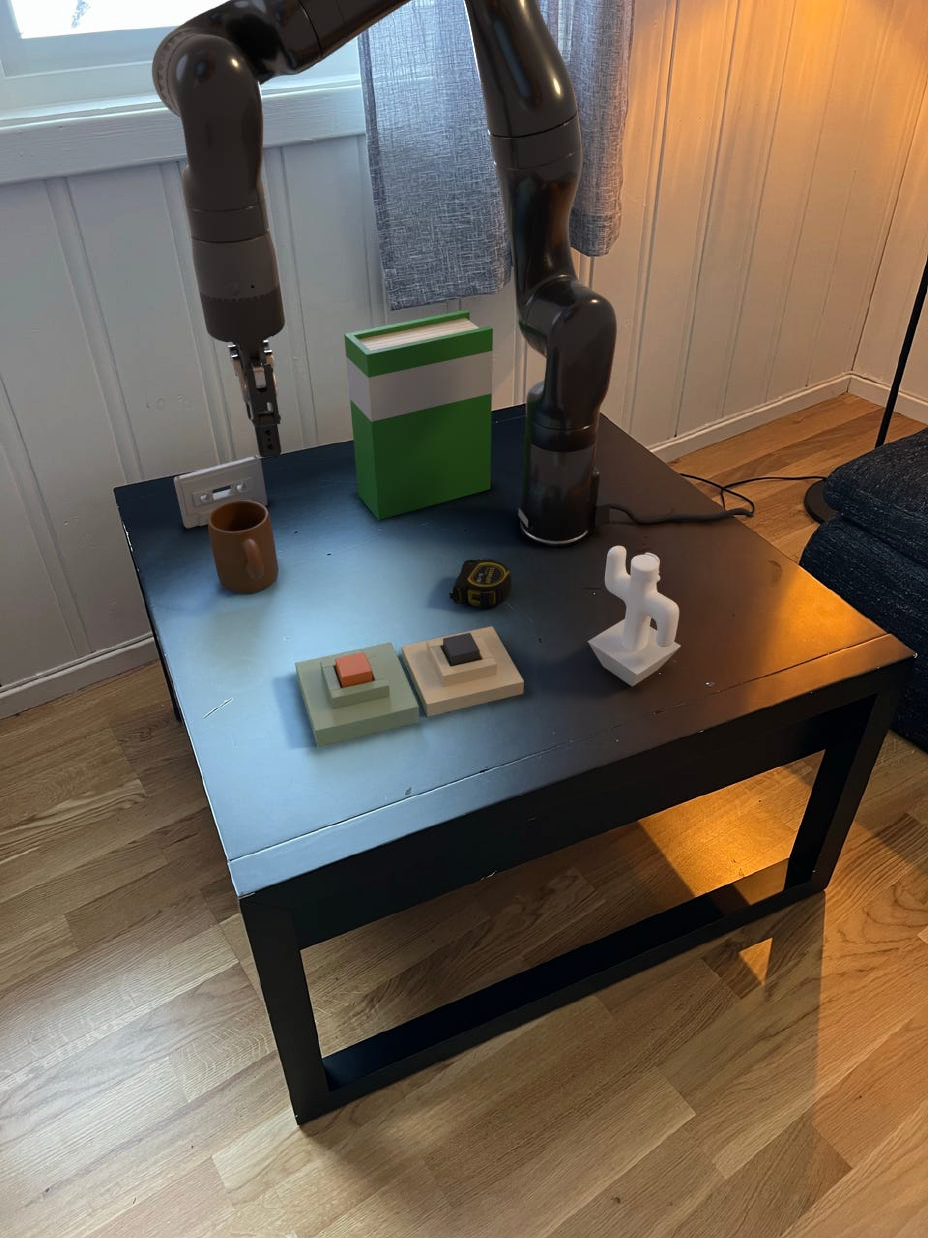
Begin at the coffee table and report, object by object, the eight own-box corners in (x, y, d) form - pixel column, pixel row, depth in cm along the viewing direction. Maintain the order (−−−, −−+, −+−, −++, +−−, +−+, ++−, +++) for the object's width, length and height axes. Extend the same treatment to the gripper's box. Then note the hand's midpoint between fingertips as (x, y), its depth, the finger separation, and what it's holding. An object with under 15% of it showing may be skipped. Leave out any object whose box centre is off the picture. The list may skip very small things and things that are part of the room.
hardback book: (466, 466, 141) (466, 309, 126) (490, 488, 136) (492, 328, 120) (358, 495, 134) (344, 333, 119) (378, 519, 129) (366, 354, 114)
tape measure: (464, 576, 119) (464, 552, 117) (516, 585, 117) (517, 561, 115) (449, 608, 114) (448, 584, 111) (503, 618, 112) (504, 593, 110)
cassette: (264, 500, 133) (257, 453, 128) (269, 506, 132) (262, 458, 127) (182, 524, 128) (171, 475, 124) (186, 530, 127) (175, 482, 122)
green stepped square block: (392, 657, 107) (390, 630, 104) (419, 722, 99) (418, 695, 96) (297, 678, 104) (293, 651, 102) (317, 747, 96) (313, 719, 93)
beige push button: (492, 638, 109) (492, 615, 107) (523, 694, 102) (524, 670, 100) (401, 658, 107) (400, 635, 104) (427, 717, 99) (426, 693, 97)
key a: (470, 642, 104) (470, 632, 103) (479, 660, 102) (479, 650, 101) (442, 648, 103) (442, 638, 102) (451, 667, 101) (451, 656, 100)
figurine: (641, 705, 101) (658, 595, 91) (578, 661, 106) (588, 553, 97) (684, 675, 104) (705, 566, 95) (620, 634, 110) (635, 527, 100)
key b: (365, 662, 101) (364, 651, 100) (372, 681, 98) (371, 670, 97) (336, 669, 100) (334, 658, 99) (343, 688, 98) (341, 677, 97)
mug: (296, 607, 114) (287, 543, 108) (234, 623, 112) (221, 559, 106) (270, 555, 123) (260, 493, 117) (213, 569, 120) (200, 507, 114)
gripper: (291, 302, 83) (312, 462, 93) (267, 252, 93) (288, 401, 104) (205, 313, 81) (237, 475, 91) (191, 261, 92) (220, 411, 102)
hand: (264, 435), depth 98 cm, fingers open, 8 cm apart
